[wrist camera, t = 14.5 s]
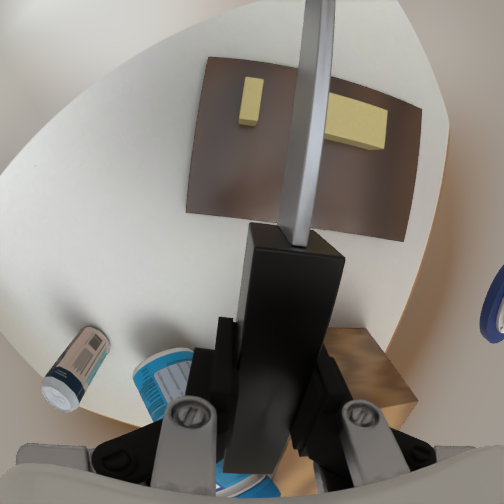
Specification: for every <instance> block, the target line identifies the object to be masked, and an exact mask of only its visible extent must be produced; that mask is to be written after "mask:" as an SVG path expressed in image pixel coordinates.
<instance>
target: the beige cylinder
mask: <svg viewBox="0 0 504 504" xmlns="http://www.w3.org/2000/svg"><path fill="white" fill-rule="evenodd" d="M109 351H110V345H109V341H108V340H107V338H106V337H105V336H104V334H103V333H102V332H100V331H99V330H97V329H95V328H92V327H84V328H83V329H81V331H80V332H79V333H78V334H77V336H76V337H75V338H74V339H73V341H72V342H71V343H70V344H69V346H68V347H67V348H66V349H65V351H64V352H63V353H62V355H61V356H60V357H59V358H58V360H57V361H56V362H55V364H54V365H53V366H52V368H51V369H50V370H49V372H48V373H47V374H46V376H45V377H44V378H43V381H42V393H43V395H44V397H45V399H46V400H47V401H48V402H49V403H50V404H51V405H52V406H53V407H55V408H57V409H58V410H60V411H62V412H71V411H73V410H75V409H77V408H78V406H79V403H80V401H81V399H82V397H83V396H84V394H85V392H86V390H87V388H88V386H89V385H90V383H91V381H92V379H93V378H94V376H95V374H96V372H97V371H98V369H99V367H100V365H101V364H102V362H103V360H104V359H105V357H106V355H107V354H108V353H109Z"/></svg>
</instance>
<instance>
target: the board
mask: <svg viewBox="0 0 504 504" xmlns="http://www.w3.org/2000/svg"><path fill="white" fill-rule="evenodd" d="M297 76H298V68H293V67H288V66H283V65H277V64H271V63H265V62H258V61H250V60H242V59H232V58H220V57H208V60H207V65H206V70H205V76H204V81H203V86H202V92H201V98H200V104H199V110H198V116H197V122H196V129H195V136H194V143H193V151H192V158H191V167H190V175H189V184H188V194H187V204H186V213H195V214H205V215H214V216H223V217H232V218H241V219H249V220H257V221H265V222H273V223H277V222H278V215H279V208H280V202H281V195H282V188H283V181H284V174H285V167H286V160H287V153H288V146H289V138H290V131H291V123H292V116H293V108H294V100H295V92H296V84H297ZM245 77H251V78H258V79H264V83H263V90H262V97H261V103H260V110H259V117H258V121H257V124H256V126H249V125H241V124H239V115H240V108H241V102H242V95H243V89H244V83H245ZM329 93H333V94H337V95H341V96H344V97H348V98H351V99H354V100H358V101H361V102H364V103H367V104H370V105H373V106H376V107H379V108H382V109H385V110H387V111H388V112H387V125H386V135H385V145H384V149H379V150H367V149H364V148H360V147H356V146H352V145H348V144H344V143H340V142H336V141H332V140H327V139H324V143H323V150H322V157H321V165H320V171H319V178H318V185H317V191H316V198H315V204H314V210H313V216H312V221H311V227H310V228H317V229H324V230H331V231H338V232H345V233H351V234H358V235H364V236H370V237H377V238H383V239H389V240H395V241H401V242H404V238H405V234H406V229H407V225H408V220H409V215H410V210H411V204H412V199H413V193H414V186H415V180H416V173H417V165H418V156H419V147H420V135H421V120H422V109H420V108H418V107H416V106H414V105H411V104H409V103H407V102H404V101H402V100H400V99H397V98H395V97H392V96H390V95H387V94H384V93H382V92H379V91H376V90H373V89H370V88H367V87H365V86H361V85H358V84H355V83H352V82H349V81H345V80H342V79H339V78H335V77H331V79H330V90H329Z"/></svg>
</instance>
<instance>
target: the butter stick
mask: <svg viewBox="0 0 504 504" xmlns="http://www.w3.org/2000/svg"><path fill="white" fill-rule="evenodd" d="M387 112H388V111H387V110H385V109H382V108H379V107H376V106H373V105H370V104H367V103H364V102H361V101H358V100H354V99H351V98H348V97H344V96H341V95H337V94H333V93H329V100H328V109H327V118H326V127H325V135H324V139H327V140H332V141H336V142H340V143H344V144H348V145H352V146H356V147H360V148H364V149H367V150H379V149H384V145H385V135H386V125H387Z"/></svg>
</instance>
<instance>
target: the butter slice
mask: <svg viewBox="0 0 504 504" xmlns="http://www.w3.org/2000/svg"><path fill="white" fill-rule="evenodd" d="M263 83H264V79H258V78H251V77H245V83H244V89H243V95H242V102H241V108H240V115H239V124H241V125H249V126H256V124H257V121H258V117H259V110H260V103H261V97H262V90H263Z"/></svg>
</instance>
